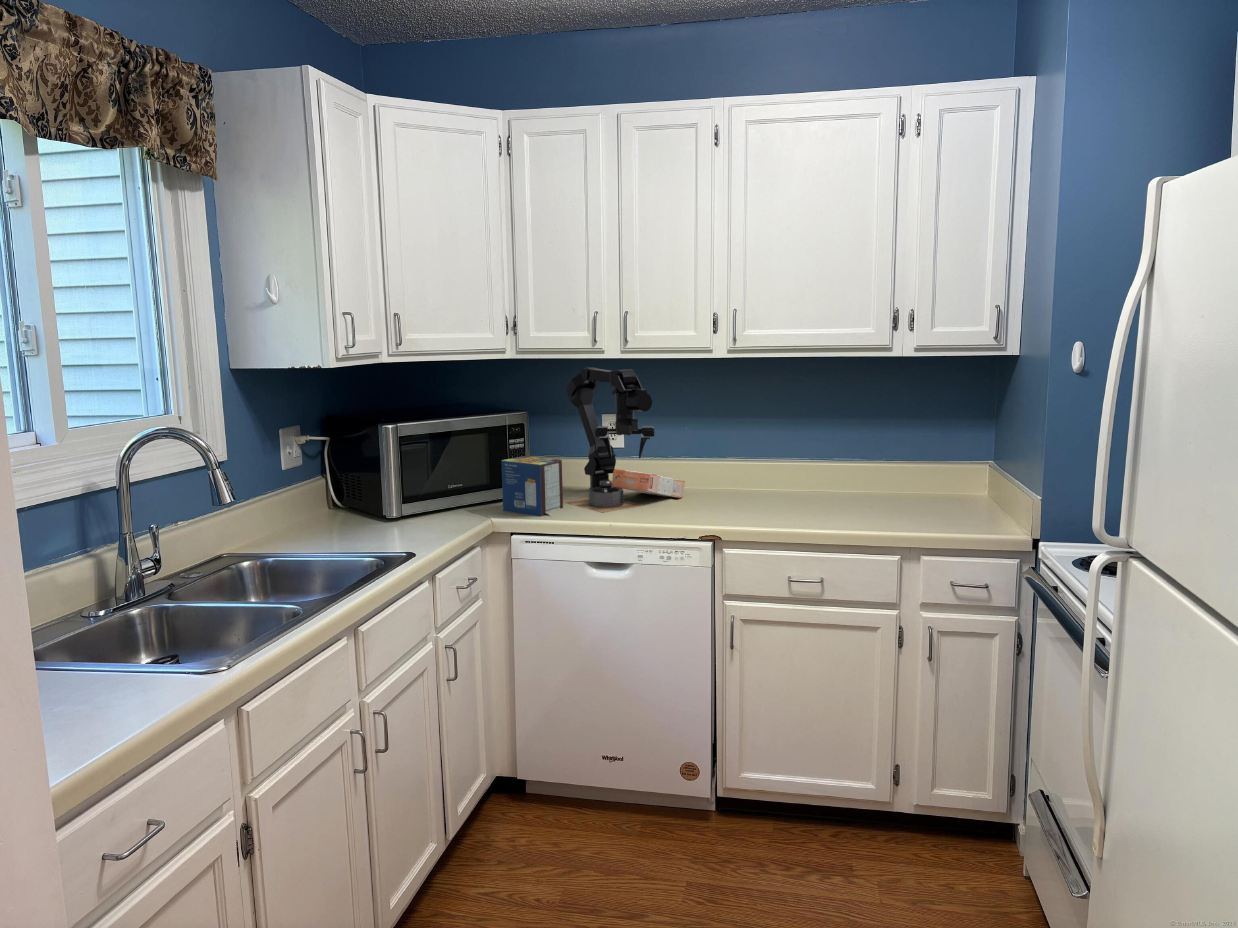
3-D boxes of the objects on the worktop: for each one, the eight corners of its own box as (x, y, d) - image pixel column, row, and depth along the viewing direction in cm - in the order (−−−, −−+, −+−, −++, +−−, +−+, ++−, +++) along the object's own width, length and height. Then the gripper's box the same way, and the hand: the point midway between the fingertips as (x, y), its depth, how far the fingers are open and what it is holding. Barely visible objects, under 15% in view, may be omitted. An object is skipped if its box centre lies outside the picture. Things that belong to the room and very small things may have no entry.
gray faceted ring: (577, 502, 265) (577, 488, 265) (604, 498, 271) (604, 484, 271) (602, 509, 255) (602, 494, 254) (629, 504, 261) (629, 490, 261)
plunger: (590, 502, 263) (590, 481, 262) (608, 500, 267) (607, 478, 266) (603, 506, 258) (603, 483, 257) (621, 503, 262) (620, 481, 261)
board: (560, 503, 268) (560, 501, 268) (601, 497, 277) (601, 495, 277) (602, 515, 250) (602, 512, 250) (644, 508, 260) (644, 505, 260)
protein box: (524, 505, 267) (523, 455, 264) (563, 510, 258) (562, 459, 256) (501, 511, 258) (500, 460, 256) (541, 516, 250) (540, 464, 247)
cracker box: (685, 480, 276) (650, 473, 259) (682, 498, 275) (647, 492, 258) (649, 475, 284) (613, 468, 267) (646, 493, 283) (610, 487, 266)
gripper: (593, 412, 264) (594, 462, 266) (654, 411, 263) (654, 462, 265) (595, 408, 275) (596, 457, 277) (654, 408, 274) (654, 456, 276)
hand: (625, 458), depth 274 cm, fingers open, 9 cm apart
